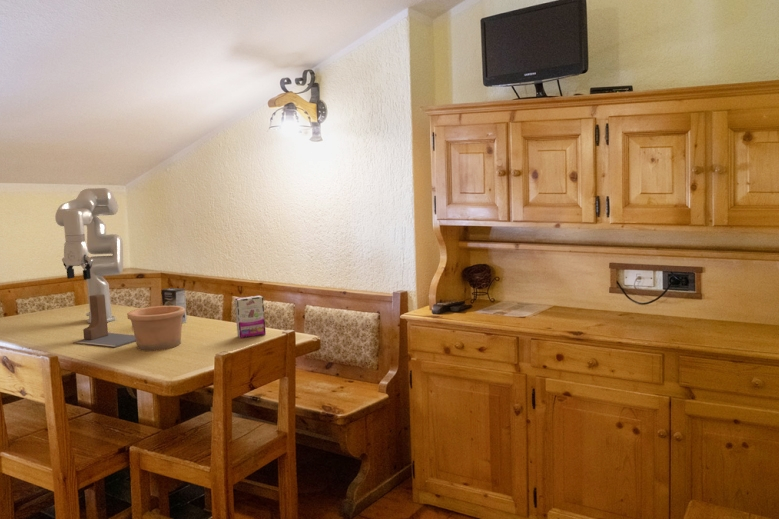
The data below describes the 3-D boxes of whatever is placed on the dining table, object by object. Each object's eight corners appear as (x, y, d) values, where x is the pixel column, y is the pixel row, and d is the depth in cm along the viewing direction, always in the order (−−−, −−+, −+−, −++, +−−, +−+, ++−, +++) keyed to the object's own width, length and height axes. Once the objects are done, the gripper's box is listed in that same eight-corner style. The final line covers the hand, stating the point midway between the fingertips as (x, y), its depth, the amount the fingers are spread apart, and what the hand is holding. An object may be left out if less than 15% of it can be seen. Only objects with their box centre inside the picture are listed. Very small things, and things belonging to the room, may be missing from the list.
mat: (73, 343, 268) (73, 341, 267) (108, 333, 284) (108, 332, 284) (114, 348, 257) (114, 346, 257) (148, 337, 273) (148, 336, 273)
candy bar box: (262, 332, 275) (260, 294, 273) (266, 334, 271) (263, 296, 269) (236, 336, 270) (234, 297, 268) (239, 338, 266) (237, 299, 264)
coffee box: (163, 323, 301) (160, 289, 299) (173, 320, 307) (171, 287, 305) (177, 324, 297) (174, 290, 295) (187, 321, 303) (185, 288, 301)
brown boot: (91, 340, 269) (87, 298, 267) (83, 339, 271) (79, 297, 269) (108, 335, 277) (105, 294, 275) (101, 334, 279) (97, 294, 277)
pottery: (131, 355, 244) (128, 318, 243) (129, 343, 264) (126, 309, 263) (190, 348, 253) (187, 312, 251) (184, 336, 273) (181, 303, 271)
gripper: (53, 239, 272) (57, 279, 275) (82, 240, 265) (86, 280, 268) (68, 237, 279) (72, 276, 282) (97, 238, 272) (100, 278, 274)
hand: (79, 278), depth 275 cm, fingers open, 9 cm apart
